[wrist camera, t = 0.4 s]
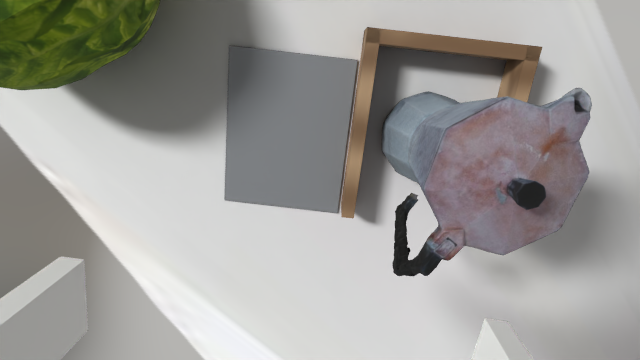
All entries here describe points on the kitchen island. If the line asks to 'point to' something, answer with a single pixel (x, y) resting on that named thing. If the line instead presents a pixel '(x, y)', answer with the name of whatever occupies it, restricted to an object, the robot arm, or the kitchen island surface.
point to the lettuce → (66, 38)
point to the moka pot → (485, 171)
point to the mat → (287, 128)
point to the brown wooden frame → (517, 56)
